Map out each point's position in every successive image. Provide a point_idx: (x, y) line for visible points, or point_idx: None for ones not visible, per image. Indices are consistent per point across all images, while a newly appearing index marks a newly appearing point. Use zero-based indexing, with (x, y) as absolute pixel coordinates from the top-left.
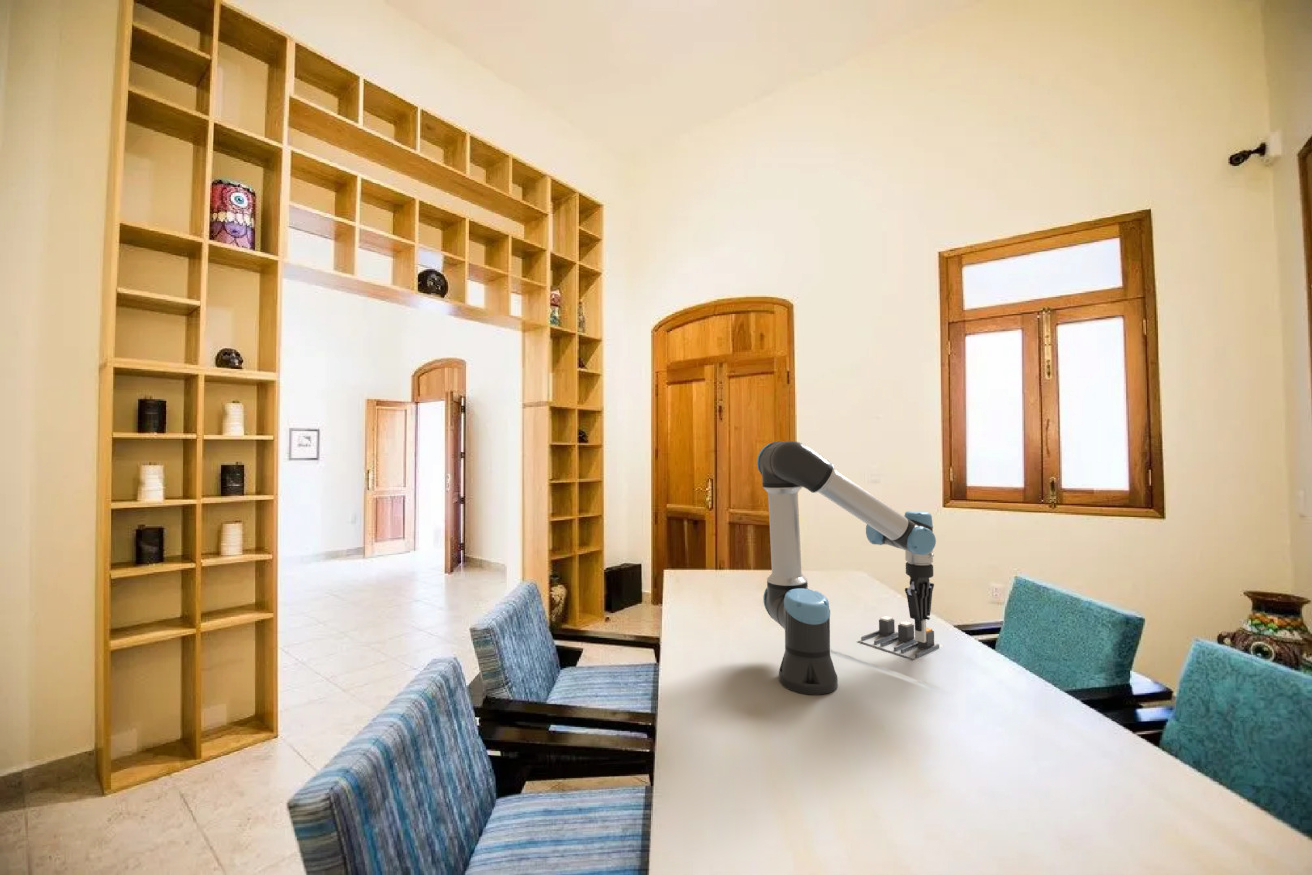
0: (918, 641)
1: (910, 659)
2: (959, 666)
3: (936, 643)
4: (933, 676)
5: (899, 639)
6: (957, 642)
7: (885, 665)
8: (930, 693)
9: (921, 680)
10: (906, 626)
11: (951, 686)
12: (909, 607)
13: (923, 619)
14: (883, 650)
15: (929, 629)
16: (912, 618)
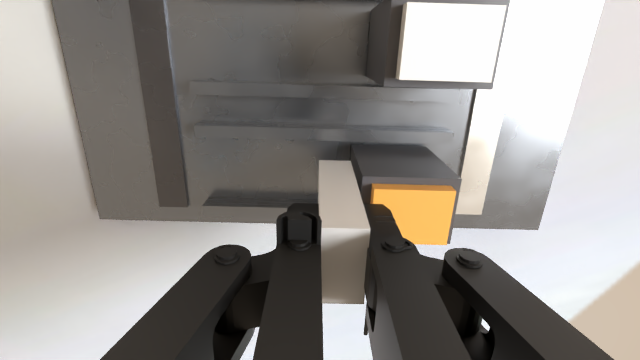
0: (355, 158)
1: (160, 197)
2: (325, 310)
3: (488, 179)
4: (145, 293)
5: (372, 17)
6: (632, 200)
7: (49, 120)
8: (8, 340)
9: (69, 283)
10: (397, 73)
11: None
12: (117, 356)
13: (362, 285)
14: (140, 37)
15: (419, 238)
16: (287, 224)
